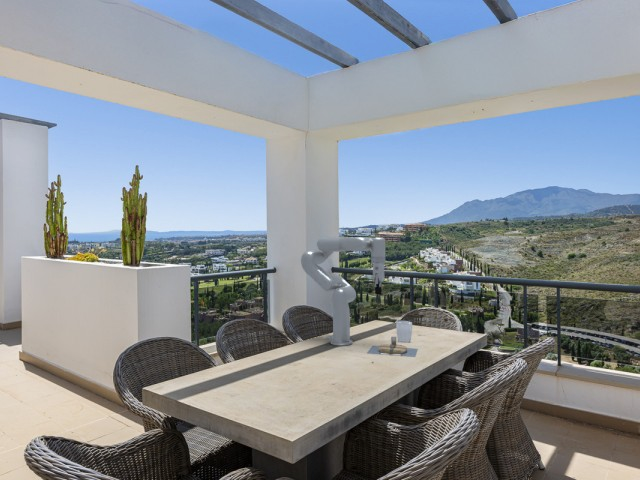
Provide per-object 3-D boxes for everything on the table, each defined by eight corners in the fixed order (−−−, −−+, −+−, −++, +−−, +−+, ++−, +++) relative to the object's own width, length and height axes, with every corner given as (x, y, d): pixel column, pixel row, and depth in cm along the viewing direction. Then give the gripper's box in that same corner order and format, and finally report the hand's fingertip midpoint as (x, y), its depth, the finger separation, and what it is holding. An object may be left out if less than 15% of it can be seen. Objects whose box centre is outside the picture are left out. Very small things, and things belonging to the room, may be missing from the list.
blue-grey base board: (366, 356, 215) (366, 352, 215) (372, 348, 232) (372, 345, 232) (415, 360, 208) (415, 356, 208) (418, 351, 224) (418, 348, 224)
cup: (408, 346, 237) (407, 324, 237) (393, 343, 242) (393, 322, 242) (415, 343, 244) (415, 322, 244) (400, 341, 249) (400, 320, 249)
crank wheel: (406, 355, 210) (405, 344, 210) (376, 353, 214) (376, 342, 214) (407, 347, 225) (407, 337, 225) (380, 346, 229) (380, 336, 229)
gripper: (382, 260, 224) (383, 296, 224) (387, 259, 239) (387, 293, 238) (368, 260, 227) (368, 295, 226) (373, 259, 241) (374, 292, 241)
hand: (378, 294), depth 232 cm, fingers closed
